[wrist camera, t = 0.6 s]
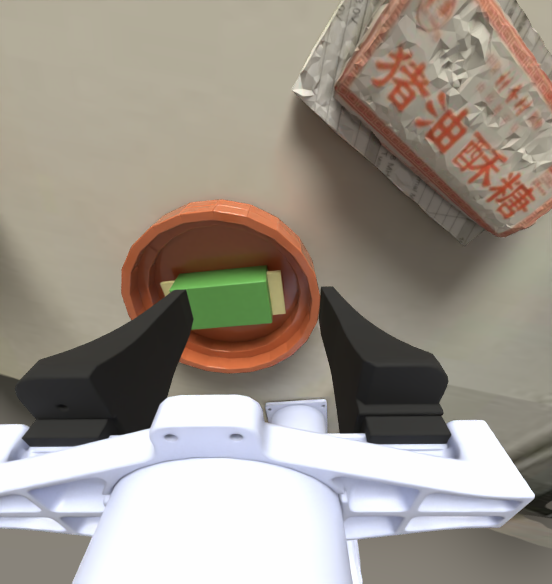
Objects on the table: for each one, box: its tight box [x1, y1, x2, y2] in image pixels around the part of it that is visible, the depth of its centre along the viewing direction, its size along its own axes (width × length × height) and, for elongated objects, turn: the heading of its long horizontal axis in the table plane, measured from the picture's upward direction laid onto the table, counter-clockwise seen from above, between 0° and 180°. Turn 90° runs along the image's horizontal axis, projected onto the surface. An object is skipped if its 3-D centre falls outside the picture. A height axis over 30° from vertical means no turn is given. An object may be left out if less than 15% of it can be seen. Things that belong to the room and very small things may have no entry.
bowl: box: [121, 199, 320, 374], centre depth 24 cm, size 16×16×4 cm
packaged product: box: [292, 0, 552, 246], centre depth 16 cm, size 18×5×10 cm
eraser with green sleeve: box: [160, 265, 286, 330], centre depth 24 cm, size 4×10×3 cm, turn 97°
